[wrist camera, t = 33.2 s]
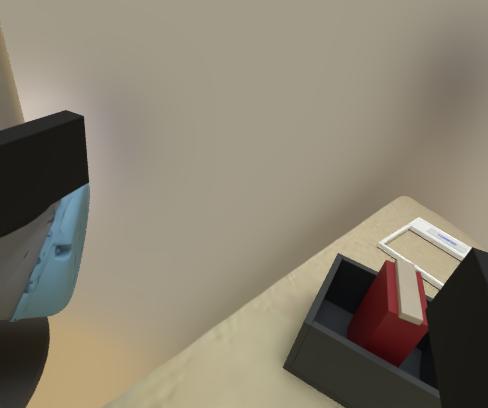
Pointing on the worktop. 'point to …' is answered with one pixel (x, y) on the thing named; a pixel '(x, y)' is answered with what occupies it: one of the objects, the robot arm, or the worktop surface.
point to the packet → (391, 313)
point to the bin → (357, 350)
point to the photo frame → (431, 235)
